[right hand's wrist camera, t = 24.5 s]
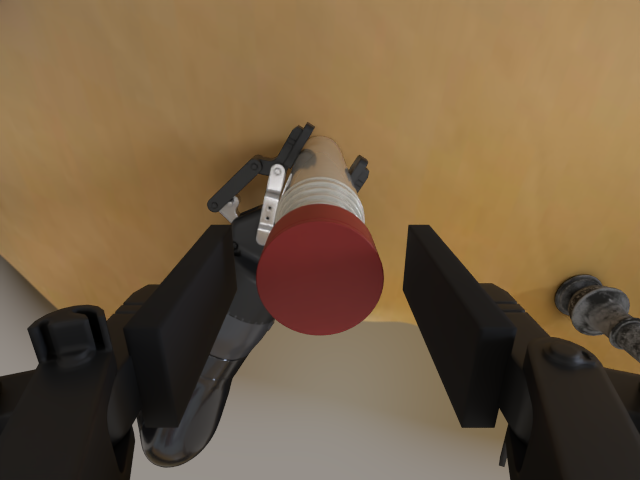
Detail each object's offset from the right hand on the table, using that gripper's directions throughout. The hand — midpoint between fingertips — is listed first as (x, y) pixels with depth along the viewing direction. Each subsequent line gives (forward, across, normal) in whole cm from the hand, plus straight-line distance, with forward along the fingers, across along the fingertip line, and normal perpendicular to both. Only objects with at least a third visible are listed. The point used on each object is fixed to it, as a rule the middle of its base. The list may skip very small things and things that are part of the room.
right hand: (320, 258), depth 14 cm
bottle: (+24, 0, 0) cm, 24 cm away
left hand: (+18, -1, -2) cm, 18 cm away
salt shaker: (+24, -30, +15) cm, 41 cm away
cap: (-2, 0, 0) cm, 2 cm away
